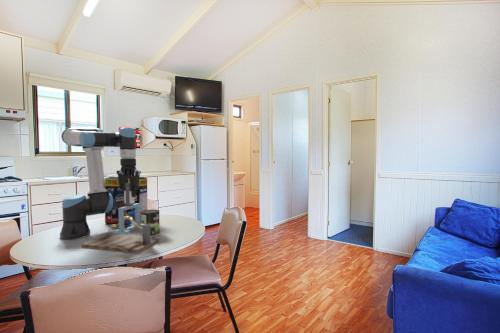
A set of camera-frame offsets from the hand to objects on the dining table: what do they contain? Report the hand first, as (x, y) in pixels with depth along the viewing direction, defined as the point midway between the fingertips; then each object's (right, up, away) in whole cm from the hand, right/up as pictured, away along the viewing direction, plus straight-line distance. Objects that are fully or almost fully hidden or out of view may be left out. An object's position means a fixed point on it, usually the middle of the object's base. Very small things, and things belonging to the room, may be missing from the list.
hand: (129, 202), depth 148 cm
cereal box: (-22, -20, +48) cm, 57 cm away
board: (-6, -22, +3) cm, 23 cm away
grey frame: (0, -14, +1) cm, 14 cm away
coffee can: (+4, -22, +20) cm, 30 cm away
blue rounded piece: (-11, -21, +33) cm, 41 cm away
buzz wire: (-1, -21, +2) cm, 21 cm away
